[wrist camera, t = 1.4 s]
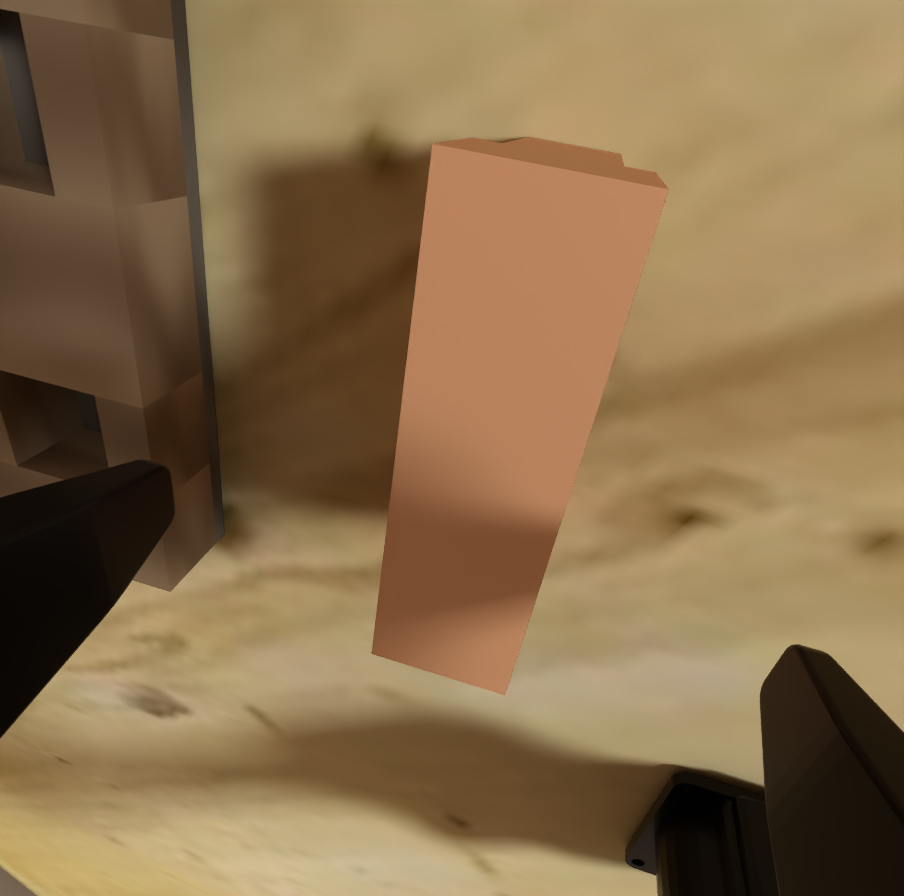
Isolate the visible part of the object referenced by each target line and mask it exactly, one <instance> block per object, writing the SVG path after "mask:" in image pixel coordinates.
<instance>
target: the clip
mask: <svg viewBox="0 0 904 896" xmlns="http://www.w3.org/2000/svg"><path fill="white" fill-rule="evenodd" d="M668 191H669V189H668V188H667V186H666V185H665V184H664V182H663V181H662V180H661V179H660V177H659V176H658V175H657V173H656V172H651V171H645V170H640V169H635V168H630V167H624V164H623V160H622V156H621V154H617V153H612V152H607V151H601V150H596V149H591V148H585V147H580V146H575V145H569V144H564V143H558V142H553V141H548V140H542V139H537V138H532V137H525V138H521V139H517V140H513V141H509V142H505V143H498V142H493V141H487V140H482V139H477V138H467V139H460V140H454V141H447V142H441V143H434V144H432V151H431V159H430V168H429V176H428V185H427V193H426V201H425V210H424V218H423V227H422V235H421V243H420V252H419V260H418V269H417V277H416V285H415V294H414V302H413V311H412V319H411V327H410V336H409V344H408V353H407V361H406V369H405V378H404V386H403V395H402V403H401V411H400V420H399V428H398V437H397V445H396V453H395V462H394V470H393V479H392V487H391V495H390V504H389V512H388V521H387V529H386V537H385V546H384V554H383V563H382V571H381V579H380V588H379V596H378V605H377V613H376V621H375V630H374V638H373V647H372V654H374V655H377V656H381V657H384V658H387V659H390V660H393V661H397V662H400V663H403V664H406V665H409V666H413V667H416V668H419V669H422V670H426V671H429V672H432V673H435V674H438V675H442V676H445V677H448V678H451V679H454V680H458V681H461V682H464V683H467V684H471V685H474V686H477V687H480V688H483V689H487V690H490V691H493V692H496V693H500V694H503V695H505V694H506V691H507V688H508V684H509V681H510V678H511V675H512V672H513V669H514V666H515V663H516V660H517V657H518V654H519V651H520V647H521V644H522V641H523V638H524V635H525V632H526V629H527V626H528V623H529V620H530V617H531V614H532V610H533V607H534V604H535V601H536V598H537V595H538V592H539V589H540V586H541V583H542V580H543V576H544V573H545V570H546V567H547V564H548V561H549V558H550V555H551V552H552V549H553V546H554V543H555V539H556V536H557V533H558V530H559V527H560V524H561V521H562V518H563V515H564V512H565V509H566V505H567V502H568V499H569V496H570V493H571V490H572V487H573V484H574V481H575V478H576V475H577V472H578V468H579V465H580V462H581V459H582V456H583V453H584V450H585V447H586V444H587V441H588V438H589V435H590V431H591V428H592V425H593V422H594V419H595V416H596V413H597V410H598V407H599V404H600V401H601V397H602V394H603V391H604V388H605V385H606V382H607V379H608V376H609V373H610V370H611V367H612V364H613V360H614V357H615V354H616V351H617V348H618V345H619V342H620V339H621V336H622V333H623V330H624V327H625V323H626V320H627V317H628V314H629V311H630V308H631V305H632V302H633V299H634V296H635V293H636V289H637V286H638V283H639V280H640V277H641V274H642V271H643V268H644V265H645V262H646V259H647V256H648V252H649V249H650V246H651V243H652V240H653V237H654V234H655V231H656V228H657V225H658V222H659V218H660V215H661V212H662V209H663V206H664V203H665V200H666V197H667V194H668Z"/></svg>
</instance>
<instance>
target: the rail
mask: <svg viewBox="0 0 904 896" xmlns="http://www.w3.org/2000/svg"><path fill="white" fill-rule="evenodd" d="M139 459H144V460H149V461H152V462H156V463H159V464H163V465H165V466H167V467H168V468H169V470H170V472H171V475H172V483H173V491H174V499H175V507H176V510H175V516H174V519H173V521H172V524H171V525H170V527H169V528H168V530H167V531H166V533H165V534H164V535H163V537H162V538H161V540H160V541H159V543H158V544H157V545H156V547H155V548H154V550H153V551H152V553H151V554H150V555H149V557H148V558H147V560H146V561H145V563H144V564H143V565H142V567H141V568H140V570H139V571H138V573H137V574H136V575H135V577H134V578H133V580H134V581H137V582H140V583H143V584H147V585H150V586H153V587H156V588H159V589H163V590H166V591H169V592H171V591H172V590H173V588H174V587H175V586H176V585H177V584H178V583H179V582H180V581H181V580H182V579H183V578H184V577H185V576H186V574H187V573H188V572H189V571H190V570H191V569H192V568H193V567H194V566H195V565H196V564H197V563H198V562H199V560H200V559H201V558H202V557H203V556H204V555H205V554H206V553H207V552H208V551H209V550H210V549H211V548H212V546H213V545H214V544H215V543H216V542H217V541H218V540H219V539H220V538H221V537H222V536H223V535H224V522H223V508H222V495H221V481H220V468H219V454H218V441H217V428H216V414H215V401H214V387H213V374H212V360H211V347H210V333H209V320H208V306H207V293H206V279H205V266H204V252H203V239H202V225H201V212H200V198H199V185H198V171H197V158H196V144H195V131H194V117H193V104H192V90H191V77H190V63H189V50H188V36H187V23H186V9H185V0H0V497H3V496H6V495H10V494H14V493H17V492H21V491H25V490H28V489H32V488H36V487H39V486H43V485H47V484H50V483H54V482H58V481H61V480H65V479H69V478H72V477H76V476H80V475H83V474H87V473H91V472H94V471H98V470H102V469H105V468H109V467H113V466H116V465H120V464H124V463H127V462H131V461H135V460H139Z"/></svg>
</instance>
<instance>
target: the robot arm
mask: <svg viewBox="0 0 904 896" xmlns="http://www.w3.org/2000/svg"><path fill="white" fill-rule="evenodd" d="M175 510H176V507H175V499H174V491H173V483H172V475H171V472H170V470H169V468H168V467H167V466H165V465H163V464H159V463H156V462H152V461H149V460H144V459H139V460H135V461H131V462H127V463H124V464H120V465H116V466H113V467H109V468H105V469H102V470H98V471H94V472H91V473H87V474H83V475H80V476H76V477H72V478H69V479H65V480H61V481H58V482H54V483H50V484H47V485H43V486H39V487H36V488H32V489H28V490H25V491H21V492H17V493H14V494H10V495H6V496H3V497H0V738H1V737H2V736H3V735H4V734H5V732H6V731H7V730H8V729H9V728H10V727H11V725H12V724H13V723H14V722H15V721H16V720H17V719H18V717H19V716H20V715H21V714H22V713H23V712H24V710H25V709H26V708H27V707H28V706H29V705H30V703H31V702H32V701H33V700H34V699H35V698H36V696H37V695H38V694H39V693H40V692H41V691H42V689H43V688H44V687H45V686H46V685H47V684H48V682H49V681H50V680H51V679H52V678H53V677H54V675H55V674H56V673H57V672H58V671H59V670H60V668H61V667H62V666H63V665H64V664H65V663H66V661H67V660H68V659H69V658H70V657H71V656H72V654H73V653H74V652H75V651H76V650H77V649H78V647H79V646H80V645H81V644H82V643H83V642H84V641H85V639H86V638H87V637H88V636H89V635H90V634H91V632H92V631H93V630H94V629H95V628H96V627H97V625H98V624H99V623H100V622H101V621H102V620H103V618H104V617H105V616H106V615H107V613H108V612H109V611H110V610H111V609H112V607H113V606H114V605H115V603H116V602H117V601H118V599H119V598H120V597H121V595H122V594H123V593H124V591H125V590H126V588H127V587H128V586H129V584H130V583H131V581H132V580H133V578H134V577H135V575H136V574H137V573H138V571H139V570H140V568H141V567H142V565H143V564H144V563H145V561H146V560H147V558H148V557H149V555H150V554H151V553H152V551H153V550H154V548H155V547H156V545H157V544H158V543H159V541H160V540H161V538H162V537H163V535H164V534H165V533H166V531H167V530H168V528H169V527H170V525H171V524H172V521H173V519H174V516H175ZM760 713H761V731H762V749H763V767H764V785H765V797H764V796H761V795H758V794H755V793H752V792H748V791H745V790H742V789H739V788H736V787H733V786H729V785H726V784H723V783H720V782H717V781H714V780H710V779H707V778H704V777H701V776H698V775H695V774H691V773H686V772H680V773H677V774H675V775H673V776H672V778H671V779H670V781H669V782H668V784H667V785H666V787H665V788H664V790H663V791H662V793H661V795H660V796H659V798H658V799H657V801H656V802H655V804H654V805H653V807H652V808H651V810H650V811H649V813H648V815H647V816H646V818H645V819H644V821H643V822H642V824H641V825H640V827H639V828H638V830H637V831H636V833H635V835H634V836H633V838H632V839H631V841H630V842H629V844H628V845H627V847H626V849H625V861H626V863H627V864H628V865H629V866H631V867H633V868H636V869H639V870H641V871H644V872H647V873H650V874H653V875H656V876H657V893H658V896H904V732H903V731H902V730H901V729H900V728H899V727H898V726H897V725H896V724H895V723H894V722H893V721H892V720H891V718H890V717H889V716H888V715H887V714H886V713H885V712H884V711H883V710H882V709H881V708H880V707H879V706H878V705H877V704H876V703H875V702H874V701H873V700H872V699H871V698H870V697H869V695H868V694H867V693H866V692H865V691H864V690H863V689H862V688H861V687H860V686H859V685H858V684H857V683H856V682H855V681H854V680H853V679H852V678H851V677H850V676H849V675H848V673H847V672H846V671H845V670H844V669H843V668H842V667H841V666H840V665H839V664H838V663H837V662H836V661H835V660H834V659H833V658H832V657H831V656H830V655H829V654H827V653H825V652H823V651H820V650H816V649H813V648H809V647H806V646H802V645H798V644H796V645H791V646H789V647H788V648H787V649H786V650H785V651H784V653H783V654H782V656H781V657H780V659H779V660H778V662H777V663H776V664H775V666H774V667H773V669H772V670H771V672H770V673H769V675H768V676H767V678H766V679H765V681H764V683H763V685H762V688H761V692H760Z"/></svg>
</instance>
